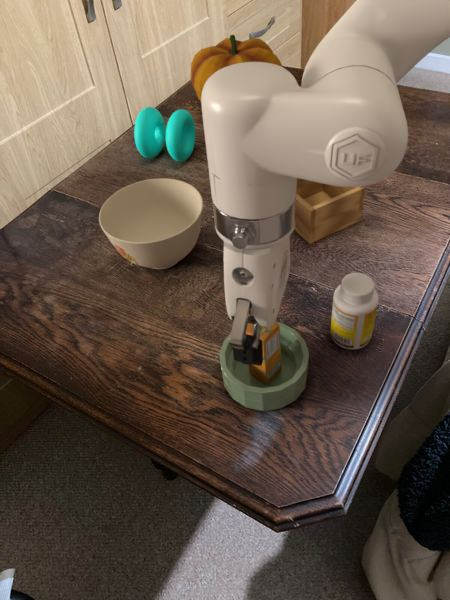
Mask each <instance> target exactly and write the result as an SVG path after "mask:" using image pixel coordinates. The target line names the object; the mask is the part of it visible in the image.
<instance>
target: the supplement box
mask: <svg viewBox="0 0 450 600" xmlns="http://www.w3.org/2000/svg"><path fill="white" fill-rule="evenodd" d="M254 325H255V324H250V323H249V324H248V325H247V330H246V334H247V335H253V332H254ZM260 340H262V342H263V362H262V365H261V366H258V365H253V364H252V365H249V374H250V375H252V376H253V377H255V378H256V379H258V380H259V381H260V382H262V383H263V384H265V385H266V386H267V385H268V384H269V383H270V382H271V381H272V380H273V379H274V378H275V377H276V376H277V375H278V374H279V373H280V372H281V370H282V368H281V348H280V326H279V324H277V323H274V324H273V325H272V326H270V327H263V326H261V332H260Z"/></svg>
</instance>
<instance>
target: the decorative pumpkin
mask: <svg viewBox="0 0 450 600" xmlns="http://www.w3.org/2000/svg"><path fill="white" fill-rule="evenodd" d="M244 62H266V63H272V64H275V65H278V66H281V67H283V65H282V61H280V59H279V57H278V56H277V55H276V54H275V53H274V52H273V49H272V48H271V46H269V44H267V43H266V42H265V41H264V40H262V39H261V38H259V37H258V38H250V39H246V40H243V41H241V40H238V39H236V36H235V35H234V34H230V35H229V37H225V38H224V39H223V40H220V41H219V42H218V43H217V44H216V45H211V46H207V47H205V48H200V49H199V51H198V52H196V53H195V54H194V56H193V58H192V60H191V63H190V81H191V84H192V88H193V90H194V91H195V93H196V97H197V99H198V100H199V101H200V102H201V95H202V91H203V87H204V85H205V83H206V81H207V80H208V78H209V77H210V76H212V75H213V74H214V73H215V72H217V71H218V70H220V69H222V68H224V67H227V66H230V65H233V64H238V63H244Z"/></svg>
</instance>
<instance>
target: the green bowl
mask: <svg viewBox="0 0 450 600" xmlns="http://www.w3.org/2000/svg"><path fill="white" fill-rule="evenodd" d="M275 323H277V324H279V326H280V348H281V368H282V370H281V372H280V373H279V374H278V375H277V376H276V377H275V378H274V379H273V380H272V381H271V382H270V383H269V384H268V385H267V386H266V385H265V384H263V383H262V382H260V381H259V380H258V379H256V378H255V377H253V376H252V375H250V374H249V365H247V364H243V363H241V362H238V361H235V360H234V355H233V348H232V347H231V345H230V344H229V339H230V335H231V333H230V334H228V336H227V337H225V339H223V343H222V345H221V348H220V351H219V353H218V354H219V361H220V370H221V375H222V381H223V386H224V388H225V389H226V391H227V392H228V394H229V396H230V397H231V398H232V399H233V400H234V401H235V402H237V403H238V404H240V405H241V406H243V407H245V408H247V409H251V410H256V411H261V412H266V411H273V410H280V409H283V408H284V407H286V406H288V405H290V404H291V403H294V402H295V401H297V400H298V398H299V397H300V395H301V394H302V393H303V392H304V390H305V389H306V387H307V381H308V377H309V363H310V353H309V350H308V349H309V348H308V346H307V342H306V340H305V339H304V338H303V336H301V335H300V334H299V332H298V331H297V329H294V328H292V327H291V326H288V325H287V324H285V323H283V322H280V321H275ZM248 324H249V323H248Z"/></svg>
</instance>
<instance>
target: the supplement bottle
mask: <svg viewBox="0 0 450 600" xmlns="http://www.w3.org/2000/svg"><path fill="white" fill-rule="evenodd" d="M332 296H333V298H332V308H331V309H332V310H331V319H330V332H329V333H330V337H331V339H332V340H333V342H334V343H335V344H336V345H337V346H339V347H340V348H342V349H346V350H359V349H362V348H364V347H365V346H367V345H368V344H369V343H370V341H371V339H372V336H373V332H374V327H375V321H376V316H377V311H378V305H379V293H378V292H377V290H376V289H375V282H374V280H373V279H372V277H370V276H369V275H368V274H365V273H362V272H351V273H348V274H346V275H345V276H344V277H343V278H342V280H341V283H340V284H339V285H338V286H337V287H336V288H335V290H334V293H333V295H332Z"/></svg>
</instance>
